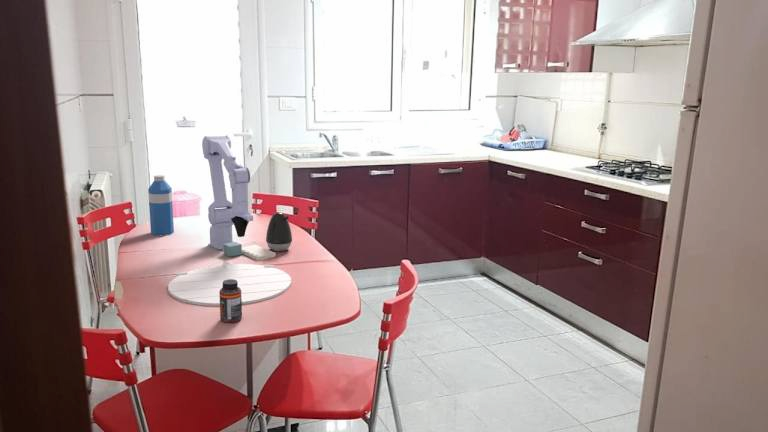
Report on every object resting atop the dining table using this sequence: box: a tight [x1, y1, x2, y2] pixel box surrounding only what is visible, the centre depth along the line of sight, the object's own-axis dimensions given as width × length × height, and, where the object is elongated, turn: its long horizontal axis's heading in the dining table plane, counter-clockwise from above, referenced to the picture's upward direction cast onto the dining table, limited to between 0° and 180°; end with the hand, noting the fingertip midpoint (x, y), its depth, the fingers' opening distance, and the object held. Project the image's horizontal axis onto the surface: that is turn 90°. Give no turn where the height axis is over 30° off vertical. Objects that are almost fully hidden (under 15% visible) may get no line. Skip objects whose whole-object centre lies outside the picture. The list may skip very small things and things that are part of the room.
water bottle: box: [147, 174, 175, 237], centre depth 257 cm, size 9×9×25 cm
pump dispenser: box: [265, 211, 293, 252], centre depth 237 cm, size 10×10×15 cm
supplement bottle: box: [219, 279, 243, 324], centre depth 168 cm, size 6×6×11 cm
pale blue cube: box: [222, 241, 243, 258], centre depth 230 cm, size 5×5×4 cm
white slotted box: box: [242, 244, 277, 261], centre depth 232 cm, size 15×8×2 cm, turn 43°
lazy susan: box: [167, 260, 292, 307], centre depth 198 cm, size 40×39×3 cm
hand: (241, 236), depth 224 cm, fingers closed
